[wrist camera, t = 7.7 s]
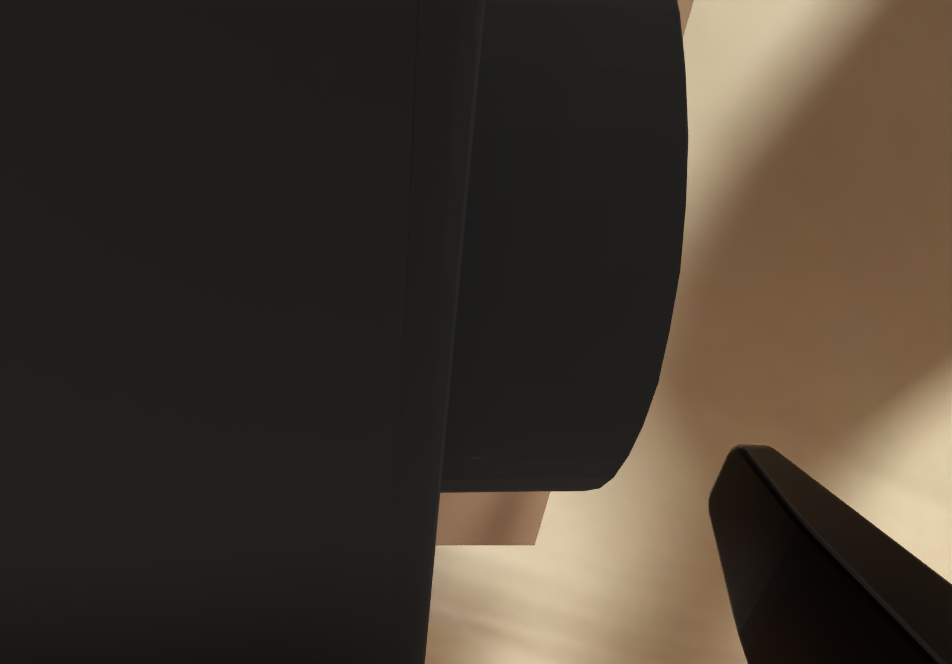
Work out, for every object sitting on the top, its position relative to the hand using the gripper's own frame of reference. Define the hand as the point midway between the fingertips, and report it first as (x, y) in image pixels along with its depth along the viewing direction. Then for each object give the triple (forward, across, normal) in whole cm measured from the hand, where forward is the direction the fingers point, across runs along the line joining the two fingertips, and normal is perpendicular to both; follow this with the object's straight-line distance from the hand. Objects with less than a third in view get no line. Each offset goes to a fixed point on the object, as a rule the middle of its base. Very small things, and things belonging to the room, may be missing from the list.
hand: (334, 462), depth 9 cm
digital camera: (+4, +1, -1) cm, 4 cm away
